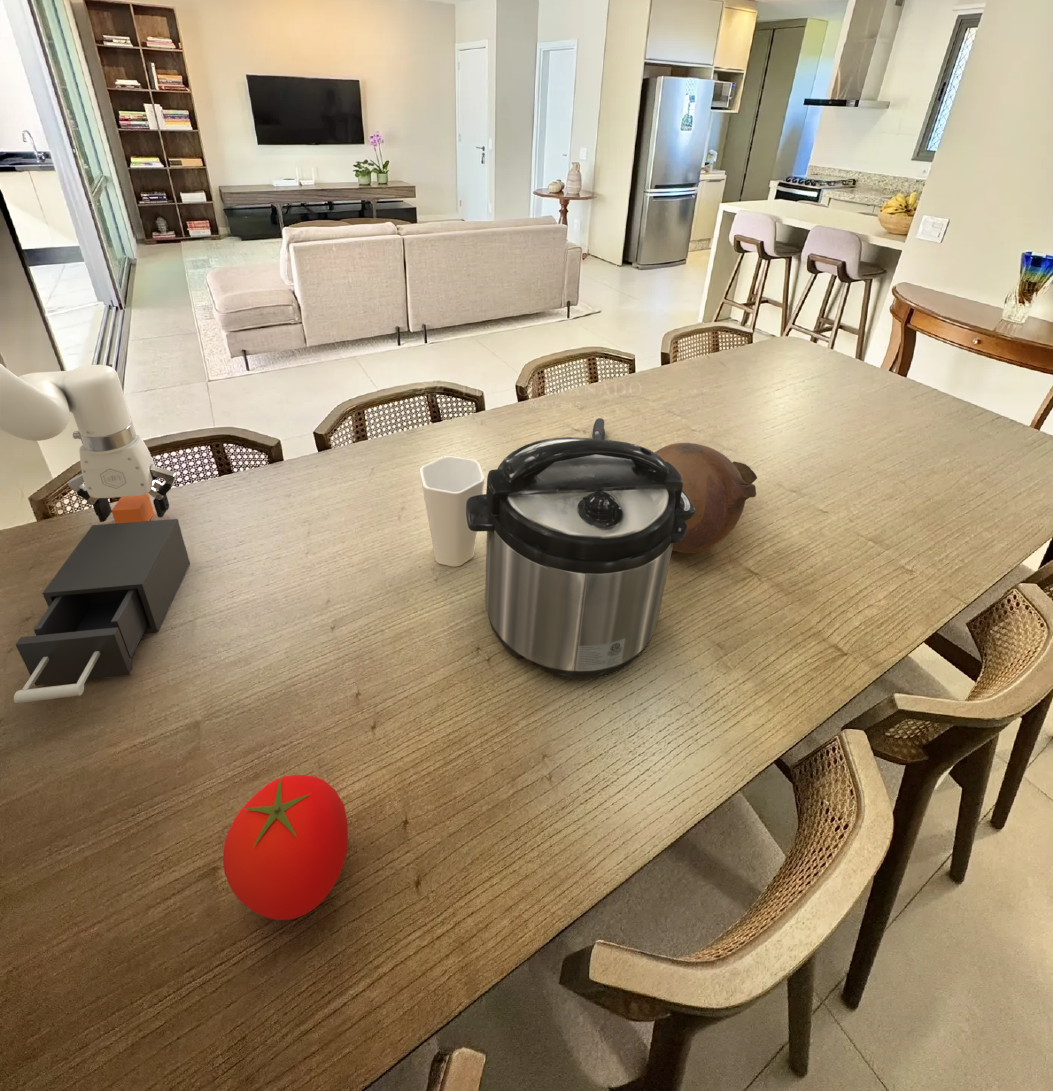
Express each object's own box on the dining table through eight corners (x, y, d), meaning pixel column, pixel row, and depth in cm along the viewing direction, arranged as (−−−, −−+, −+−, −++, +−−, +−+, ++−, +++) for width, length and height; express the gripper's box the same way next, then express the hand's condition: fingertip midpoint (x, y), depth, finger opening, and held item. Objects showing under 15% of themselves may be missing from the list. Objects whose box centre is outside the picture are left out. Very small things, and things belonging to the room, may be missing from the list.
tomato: (373, 838, 65) (364, 767, 59) (318, 964, 55) (300, 893, 50) (283, 808, 67) (265, 736, 61) (215, 923, 58) (187, 851, 52)
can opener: (606, 470, 131) (608, 449, 128) (575, 465, 132) (577, 444, 130) (614, 432, 147) (617, 412, 144) (586, 427, 148) (588, 408, 145)
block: (117, 530, 107) (111, 510, 105) (128, 515, 111) (122, 495, 109) (144, 528, 108) (138, 508, 106) (154, 513, 112) (148, 493, 110)
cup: (488, 569, 102) (489, 488, 95) (429, 579, 99) (425, 497, 92) (474, 528, 112) (474, 452, 104) (421, 536, 109) (417, 459, 101)
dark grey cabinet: (158, 632, 88) (142, 584, 84) (63, 642, 86) (42, 593, 81) (190, 563, 101) (177, 518, 96) (108, 570, 98) (92, 525, 94)
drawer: (109, 717, 75) (91, 675, 71) (7, 730, 73) (-16, 688, 69) (165, 600, 92) (153, 562, 89) (84, 608, 90) (69, 569, 87)
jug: (673, 588, 100) (760, 541, 119) (726, 502, 91) (811, 466, 110) (594, 508, 112) (685, 477, 132) (634, 425, 103) (725, 405, 122)
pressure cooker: (683, 585, 101) (717, 423, 87) (639, 727, 77) (676, 538, 63) (524, 531, 111) (531, 380, 97) (444, 641, 88) (438, 463, 74)
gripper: (40, 450, 97) (72, 532, 104) (155, 444, 100) (178, 524, 107) (64, 427, 103) (92, 506, 111) (171, 422, 106) (192, 499, 114)
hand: (135, 515), depth 109 cm, fingers open, 9 cm apart
